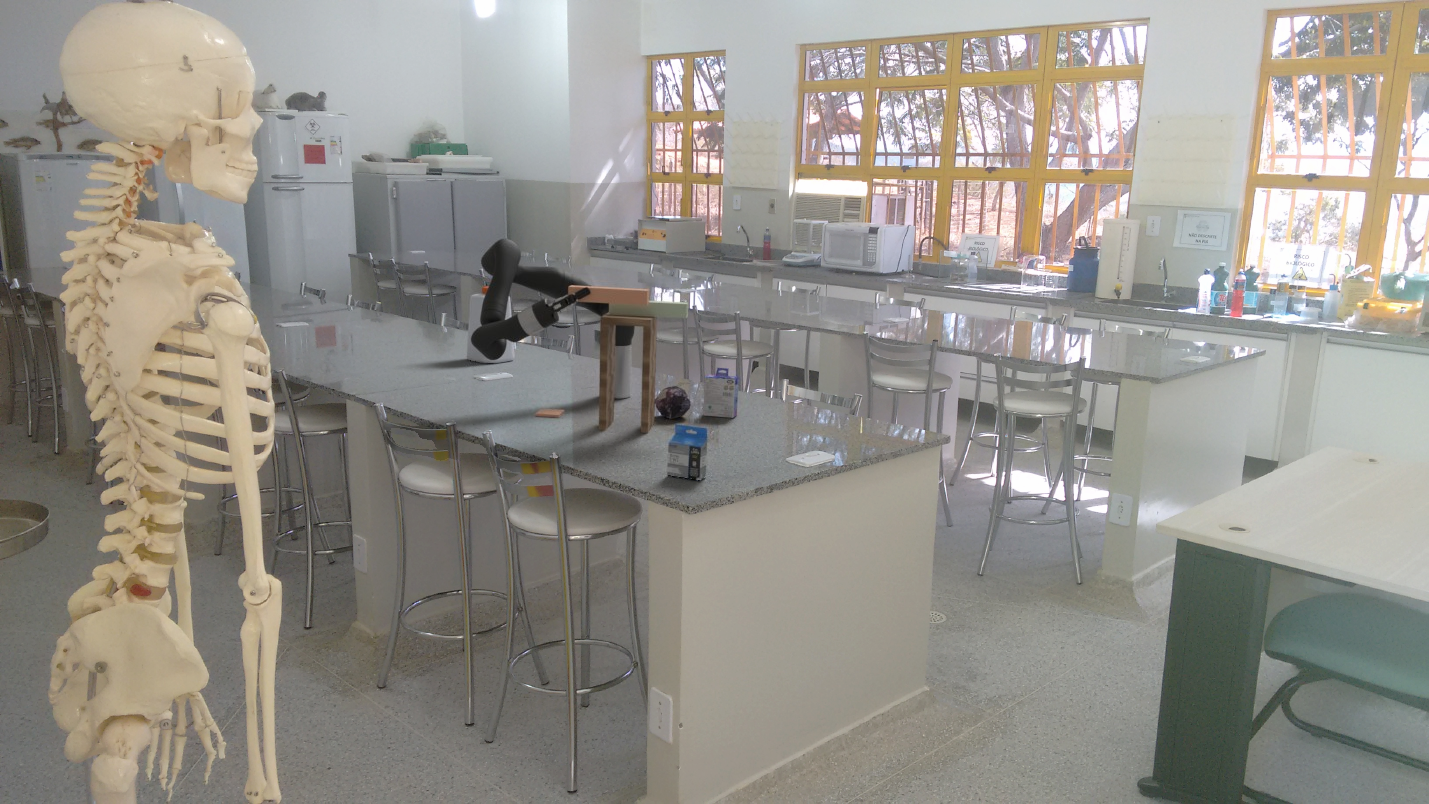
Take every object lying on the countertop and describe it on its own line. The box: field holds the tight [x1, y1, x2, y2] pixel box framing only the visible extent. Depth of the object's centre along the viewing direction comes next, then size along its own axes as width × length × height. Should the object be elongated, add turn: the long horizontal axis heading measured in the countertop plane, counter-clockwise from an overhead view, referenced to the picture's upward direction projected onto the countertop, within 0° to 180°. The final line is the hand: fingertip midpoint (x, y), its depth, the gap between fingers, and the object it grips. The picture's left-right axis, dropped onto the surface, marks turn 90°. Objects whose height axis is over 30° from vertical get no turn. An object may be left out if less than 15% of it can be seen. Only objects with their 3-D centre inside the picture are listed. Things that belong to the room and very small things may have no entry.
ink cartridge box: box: [702, 367, 739, 419], centre depth 315 cm, size 10×6×14 cm, turn 78°
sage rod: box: [609, 300, 689, 319], centre depth 293 cm, size 4×22×4 cm, turn 85°
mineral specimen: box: [655, 385, 692, 420], centre depth 311 cm, size 10×10×10 cm
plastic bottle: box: [466, 285, 515, 364], centre depth 394 cm, size 15×15×28 cm
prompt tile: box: [535, 408, 565, 418], centre depth 309 cm, size 7×7×1 cm
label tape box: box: [666, 423, 709, 481], centre depth 248 cm, size 9×4×12 cm, turn 66°
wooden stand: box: [598, 312, 658, 434], centre depth 294 cm, size 12×14×32 cm
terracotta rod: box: [568, 285, 650, 305], centre depth 288 cm, size 4×22×4 cm, turn 85°
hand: (590, 289), depth 288 cm, fingers closed on terracotta rod, 4 cm apart
